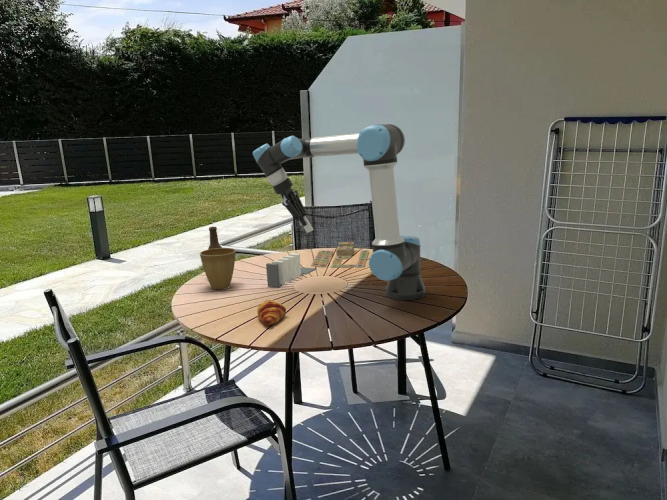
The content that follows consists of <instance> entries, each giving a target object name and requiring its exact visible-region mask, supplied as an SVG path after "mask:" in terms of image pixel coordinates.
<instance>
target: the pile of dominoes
mask: <svg viewBox="0 0 667 500" xmlns="http://www.w3.org/2000/svg"><path fill="white" fill-rule="evenodd" d="M337 245H338V246H337V248H336V250H335V251H336V256H335V257H334V258H333V260H332V264H331V265H330V268H331V269H339V268H340V269H348V268H349V269H350V268H351V269H353V268H354V267H355V268H356V267H357V269H359V268H362V267H364V266H366V263H367V261H366V260H368V257H367V256H369V253H370V251H369V250H368V249H363V250H360V254H359V257H358V260H357V262H356V264H341V263H342V261H343V260H351V259H352V256H353V255H354V252H355V243H354V241H340V242H338V244H337ZM333 252H334V251H333V250H319V251H318V253H317V255H316V256H315V257H314V259H313V260H312V264H310V266H311V267H312V268H323V269H324V268H326V267H328V265H329V264H330V260H331V259H332V257H333V256H334V253H335V252H334V253H333ZM330 257H331V258H330ZM329 259H330V260H329ZM364 268H365V267H364Z"/></svg>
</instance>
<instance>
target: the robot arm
mask: <svg viewBox="0 0 667 500" xmlns="http://www.w3.org/2000/svg"><path fill="white" fill-rule="evenodd" d="M405 138H406V137H405V134H404V132H403V131H402V129H401V128H400V127H399V126H397V125H395V124H389V123H387V124H385V123H384V124H380V123H379V124H372V125H368V126H366V127H365V128H363V129H362V130H361V131H360V132H356V133H347V134H338V135H337V134H336V135H327V136H326V135H325V136H317V137H306V138H305V137H304V138H298V137H296V136H295V135H290V136H288V137H284V138H283V139H282V140H280V141H279V142H277V143H275V144H274V145H272V146H270V145H269V143H265V144H263V145H261V146H259V147H258V148H256V149H255V150H253V152H252V155H253V158H254V160H255V162H256V164H257V165H258V166H259V168H260V169H261V170H262V172H263V174H264V176H265V177H266V179H267V181H268V182H269V184H270V186H272V189H273V191H274V192H275V194H276V195H280V196H281V198H282V200H283V202H281V205H282V206H283V207H285V209H287V211H288V212H289V214H290V215H291V216H292V217H293V218H294V220H295V221H299V222H300V224H301V225H302V227H303V229H304V230H305V232H306V234H308V233H310V232H312V231H313V230H314V228H313V226H312V224H311V223H310V220H309V219H308V218H307V216H308V213H307V211H306V209H305V207H304V204H303V203H302V200H301V198H300V197H299V193H298V191H297V190H293V189H292V187H293V182H292V181H291V179H290V178H289V177H288V174H287V172H286V171H285V169H284V167H283V166H282V164H283V163H285V162H287V161H289V160H290V161H291V160H295V159H303V158H315V157H327V156H343V155H354V154H355V155H359V156H360V157H361V158H362V162H363V167H364V168H365V169H367V171H368V175H369V183H370V184H369V185H370V186H369V187H370V195H371V206H372V215H373V217H372V218H373V226H374V235H375V236H374V237H375V238H374V240H373V241H372V243H371V248H372V254H371V255H370V256H369V259H368V265H369V267H368V268H369V269H370V270H369V271H370V272H371V273H372V274H373V275H374V276H375V277H376V278H377V279H379V280H381V281H384V282H385V281H386V282H387V284H386V288H385V296H387V298H389V299H392V300H397V301H414V300H415V301H416V300H419V299H421V298H423V297H425V296H426V286H425V285H424V281H423V279H422V276H421V240H420V238H419V237H417V236H412V235H411V236H410V235H400V234H401V233H400V223H399V213H398V203H397V193H396V192H397V191H396V183H395V182H396V181H395V170H394V168H395V166H396V165H397V164H398V157H397V156H398V155H399V154H400V153H401V152H402V150H403V149H404V147H405V144H406V143H405V142H406V139H405Z"/></svg>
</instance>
